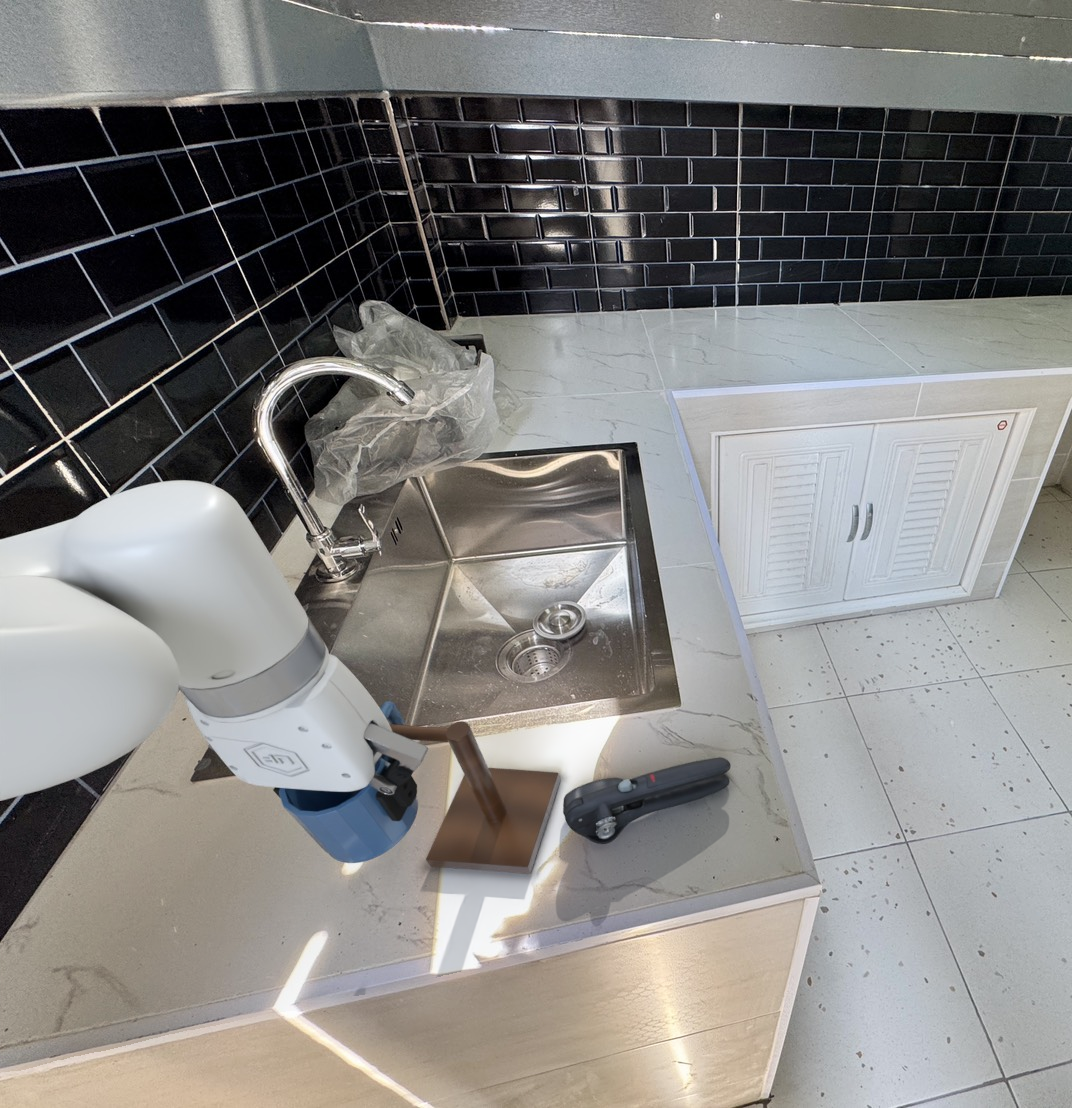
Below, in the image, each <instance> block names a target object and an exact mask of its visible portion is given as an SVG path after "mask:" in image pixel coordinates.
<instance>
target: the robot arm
mask: <svg viewBox="0 0 1072 1108" xmlns="http://www.w3.org/2000/svg"><path fill="white" fill-rule="evenodd" d="M179 691H180V692H181V693H182V694H183V695H184V700H185V703H186V706H187V709H188V711H189V713H190V715H191V718H192V720H193V722H194V724H196V726H197V728H198V730H199V732H200V733H201V734H202V736H203V737H204V739H205V740H206V741H207V743H208V746H207V747H208V748H209V749H210V750H212V751H213V752H215V753H216V755H217V756H218V757H219V758H220V760H221V761H222V762H223V763H224V764H225V765H226V767H227V768H228V769H229V770H230V771H231V772H232V774H234V775H235V776H236V777H237V778H238V780H240V781H241V782H244V783H246V784H249V785H253V786H257V787H258V786H259V787H266V788H273V789H272V791H273V792H274V793H275V794H276V796H277V797H278V798H279V799H280V800H281V798H280V795H279V791H280V788H289V789H303V790H318V791H336V792H350V791H356V790H359V789H362V788H364V787H366V786H367V785H369V786H371V787H373V788H374V789H376V790H377V793H376V799H377V800H378V802H379V803H380V805H381V806H382V808H383V809H384V810H385V812H386V813H387V815H388V816H389V818H390V819H391V820H392V821H400V820H401V819H402V817H403V815H404V814H405V812H406V810H407V808H408V807H409V806H411V805H412V803H413V802H414V800H415V798H416V796H417V794H418V784H417V782H416V781H415V779H414V777H413V776H412V775H413V773H415V772H416V770H417V769H418V768H419V767H420V766H421V765H422V763H423V761H424V759H425V758H426V755H427V754H428V752H429V747H428V746H427V745H425V744H423V743H421V742H419V741H417V740H411V739H408V738H406V737H404V736H401V735H399V734H396V733H394V732H392V729H391V727H390V725H389V724H390V722H389V720H388V719H386V717H385V716H384V714H383V712H382V711H381V709H380V708H381V707H380V706H379V705H378V703H377V702H376V700H375V699H374V698H373V696H372V695H371V694H370V692H369V691H368V690H367V689H366V687H365V686H364V685H363V683H362V682H360V680H359V679H358V678H357V677H356V676H355V674H354V673H353V672H352V671H351V670H350V669H349V668H348V666H346V665H345V664H344V663H343V662H342V661H341V660H340V659H339V658H338V657H337V656H336V655H335V654H331V653H329V649H328V647H327V645H326V643H325V641H324V639H323V638H322V637H321V635H320V634H319V632H318V630H317V629H316V627H315V625H314V624H313V622H312V621H311V619H310V617H309V615H308V614H307V612H306V610H305V608H304V607H303V606H302V604H301V602H300V601H299V598H297V596H296V594H295V593H294V591H293V589H292V588H291V586H290V584H289V582H288V581H287V579H286V577H285V576H284V575H283V573H282V571H281V570H280V568H279V566H278V565H277V563H276V561H275V560H274V558H273V557H272V555H271V553H270V551H269V550H268V549H267V547H266V545H265V544H264V542H263V540H262V538H261V537H260V535H259V534H258V532H257V530H256V528H255V527H254V525H253V524H252V522H251V521H250V519H249V517H248V515H247V514H246V512H245V511H244V509H243V508H242V507H241V506H240V503H238V500H236V499H235V498H234V497H233V496H232V495H231V494H230V493H229V492H227V491H225V490H224V489H222V488H220V487H218V486H216V485H213V484H211V483H209V482H208V483H207V482H203V481H199V480H188V479H187V480H186V479H180V480H179V479H175V480H166V481H159V482H154V483H149V484H144V485H141V486H137V487H133V488H130V489H127V490H125V491H122V492H118V493H116V494H113V495H111V496H108V497H107V498H104V499H102V500H101V501H99V502H97V503H95V504H93V505H91V506H90V507H88V508H87V509H85V510H83V511H82V512H81V513H80V514H79V515H77V516H75V517H73V518H70V519H67V520H64V521H61V522H57V523H54V524H51V525H48V526H44V527H41V528H37V529H33V530H31V531H27V532H23V533H20V534H15V535H12V536H8V537H5V538H0V801H2V802H3V801H5V800H9V799H13V798H16V797H20V796H24V795H29V794H32V793H35V792H39V791H43V790H46V789H50V788H52V787H55V786H58V785H61V784H63V783H67V782H70V781H72V780H76V779H78V778H81V777H83V776H85V775H87V774H90V773H92V772H94V771H97V770H98V769H101V768H103V767H106V766H107V765H110V764H111V763H113V762H115V761H116V760H118V759H119V758H121V757H123V756H125V755H127V754H129V753H130V752H132V751H133V750H135V749H136V748H138V746H140V745H141V744H143V742H145V741H147V740H148V738H149V737H150V736H151V735H152V734H153V733H154V732H156V730H157V729H158V728H159V727H160V726H161V725H162V724H163V723H164V721H165V720H166V719H167V717H168V715H169V714H170V712H171V711H172V710H173V707H174V705H175V703H176V700H177V697H178V695H179ZM380 758H382V759H384V760H385V761H387V762H388V763H390V765H389V767H388V768H387V770H386V772H385V774H384V775H383V776H382V775H380V774H379V773H377V772H376V771H375V766H376V765H377V763H378V761H379V759H380Z"/></svg>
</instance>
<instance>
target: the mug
mask: <svg viewBox="0 0 1072 1108" xmlns="http://www.w3.org/2000/svg"><path fill="white" fill-rule="evenodd" d="M379 708H380V709H381V711H382V712H383V714H384V716H385V717H386V719H387V721H388V723H389V724H396V725H407V723H406V721H405V720H404V718H403V716H402V714H401V713H400V712H399V710H398V708H397V706H396V704H395V703H394V702H393V701H391V700H387V701H384V702H383V703H382V705H381V706H380V707H379ZM389 765H390V763H388V762H387V761H385V760H384V759H382V758H380V759H379V761H378V763H377V765H376V766H375V771H376V772H377V773H379V774H380V775H382V776H383V775H384V774H385V772H386V770H387V768H388V767H389ZM376 793H377V790H376V789H374V788H373V787H371V786H369V785H367V786H366V787H364V788H362V789H359V790H356V791H350V792H336V791H318V790H303V789H289V788H280V791H279V795H280V798H281V799H280V798H279V799H280V801H281V804H282V807H283V808H284V809H285V810H286V812H287V813H288V814H289V815H290V816H291V817H292V818H293V819H294V820H295V821H296V822H297V824H299V825H300V826H301V827H302V829H303V830H304V831H305V832H306V833H307V834H308V835H309V837H311V838H312V839H313V841H315V843H317V844H318V846H319V847H320V848H321V849H322V850H323V851H324V852H325V853H326V854H328V855H329V856H330V857H331V858H332V859H333V860H335V861H337V862H341V863H345V864H358V863H365V862H368V861H371V860H374V859H376V858H378V857H380V856H382V855H384V854H386V853H387V852H388V851H389V850H391V849H393V848H394V847H395V846H396V845H398V844H399V843H400V842H401V841H402V839H403V838H404V837H405V836H406V835H407V834H408V832H409V831H410V829H411V828H412V826H413V824H414V822H415V820H416V818H417V814H418V809H419V800H418V796H417V795H416V798H415V800H414V802H413V803H412V805H411V806H409V807H408V808H407V810H406V812H405V814H404V815H403V817H402V819H401V820H400V821H392V820H391V819H390V818H389V816H388V815H387V813H386V812H385V810H384V809H383V808H382V806H381V805H380V803H379V802H378V800H377V799H376Z"/></svg>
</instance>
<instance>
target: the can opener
mask: <svg viewBox="0 0 1072 1108" xmlns="http://www.w3.org/2000/svg"><path fill="white" fill-rule="evenodd" d="M731 766H732V765H731V762H730V761H729V760H728V759H727V758H725V757H719V756H718V757H713V758H706V759H700V760H696V761H691V762H686V763H681V764H678V765H673V766H669V767H665V768H662V769H658V770H655V771H652V772H648V773H645V774H642V775H638V776H635V777H633V778H630V779H629V778H625V779H624V778H620V777H607V778H601V779H597V780H593V781H590V782H587V783H585V784H581V785H579V786H576V787H575V788H573V789H572V790H570V791H568V792H567V793H566V794H565V795H564V797H563V803H562V806H563V807H562V814H563V816H564V820H565V823H566V824H567V826H568V827H569V828H570V830H572V831H573V832H574V833H576V834H578V835H580V836H583V837H584V838H585V839H587V840H588V841H590V842H593V843H595V844H597V845H607V844H609V843H612V842H613V841H615V840H616V838H618V837H619V835H620V834H621V833H622V831H624V829H625V827H626V826H627V825H629V824H630V823H632V822H633V821H635V820H638V819H639V818H642V817H643V816H646V815H649V814H651V813H654V812H659V811H662V810H666V809H670V808H673V807H677V806H681V805H685V804H688V803H692V802H694V801H697V800H700V799H702V798H703V799H704V798H706V797H708V796H711V795H713V794H715V793H718V792H720V791H723V790H725V789H726V788H728V786H729V784H730V777H729V776H728V775H727V774H726V773H728V772H729V771H730V770H731Z"/></svg>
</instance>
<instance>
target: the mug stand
mask: <svg viewBox="0 0 1072 1108" xmlns="http://www.w3.org/2000/svg"><path fill="white" fill-rule="evenodd" d="M389 725H390V727H391V729H392V732H394V733H396V734H399V735H401V736H404V737H406V738H408V739H411V740H413V741H421V742H437V743H448V744H449V746H450V749H451V750H452V752H453V755H454V756H455V758H456V760H457V762H458V764H459V766H460V768H461V771H462V772H463V774H464V775H463V777H462V779H461V782H460V784H459V786H458V788H457V790H456V793H455V795H454V797H453V799H452V802H451V803H450V806H449V807H448V810H447V812H446V814H445V816H444V819H443V821H442V823H441V825H440V827H439V829H438V832H437V834H436V836H435V839H434V841H433V842H432V845H431V847H430V849H429V851H428V854H427V856H426V858H425V861H426V862H427V863H428V865H429V867H432V868H433V867H435V868H445V869H446V868H447V869H459V870H474V871H487V872H502V873H512V874H513V873H515V874H526V875H531V874H532V871H533V868H534V864H535V862H536V858H537V855H538V853H539V849H540V847H541V844H542V843H541V842H542V840H543V836H544V834H545V831H546V827H547V824H548V821H549V818H550V815H551V812H552V809H553V806H554V802H555V799H556V796H557V794H558V793H557V792H558V790H559V786H560V784H561V776H560V773H559V771H558V772H556V771H541V770H529V769H527V770H526V769H513V768H499V767H488V764H487V761H486V759H485V757H484V755H483V753H482V751H481V748H480V746H479V744H478V742H477V740H476V738H475V735H474V733H473V730H472V728H471V725H470V724H469V723H468V722H467V721H462V720H461V721H460V720H459V721H456V722H453V723H451V724H450V725H449V726H448V727H441V726H439V727H438V726H426V725H424V726H423V725H409V724H406V725H396V724H391V723H389Z"/></svg>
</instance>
